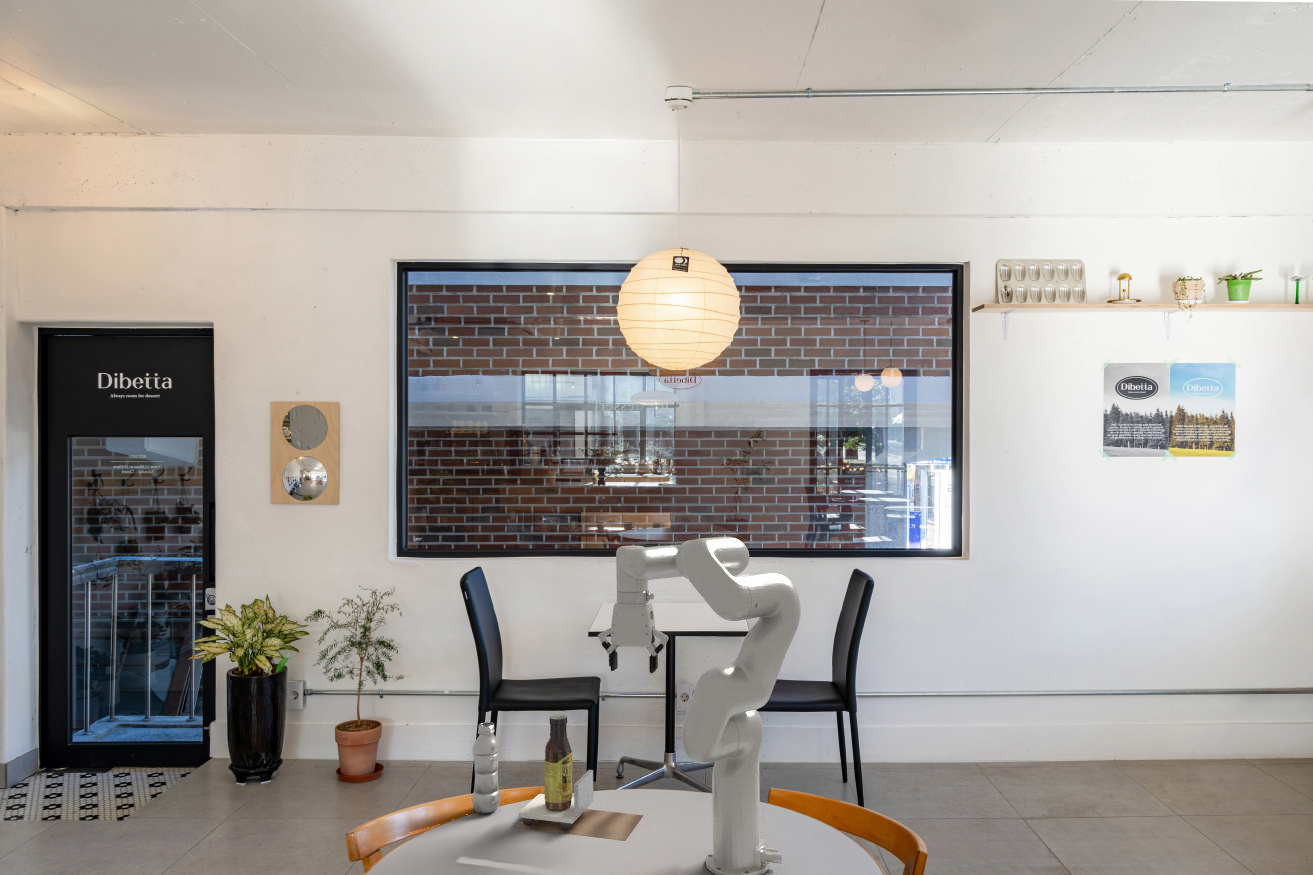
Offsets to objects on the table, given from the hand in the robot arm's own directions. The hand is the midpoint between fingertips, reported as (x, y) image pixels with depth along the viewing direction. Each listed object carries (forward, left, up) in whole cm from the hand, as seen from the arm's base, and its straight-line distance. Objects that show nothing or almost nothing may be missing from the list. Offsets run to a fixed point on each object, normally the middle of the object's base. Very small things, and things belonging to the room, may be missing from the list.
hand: (633, 670), depth 187 cm
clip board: (+10, +11, -32) cm, 35 cm away
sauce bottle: (+15, +11, -29) cm, 34 cm away
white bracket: (+16, +11, -31) cm, 37 cm away
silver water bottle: (+34, +9, -32) cm, 48 cm away
